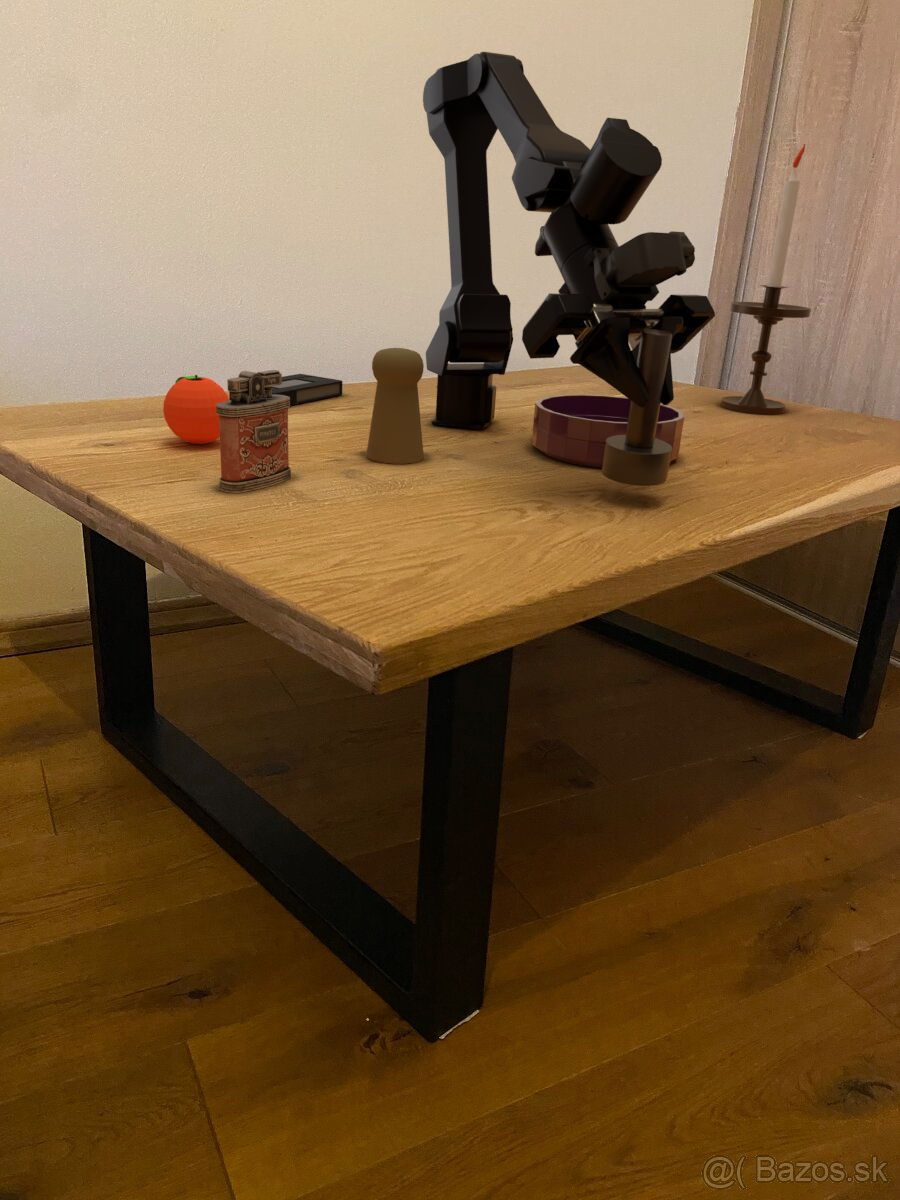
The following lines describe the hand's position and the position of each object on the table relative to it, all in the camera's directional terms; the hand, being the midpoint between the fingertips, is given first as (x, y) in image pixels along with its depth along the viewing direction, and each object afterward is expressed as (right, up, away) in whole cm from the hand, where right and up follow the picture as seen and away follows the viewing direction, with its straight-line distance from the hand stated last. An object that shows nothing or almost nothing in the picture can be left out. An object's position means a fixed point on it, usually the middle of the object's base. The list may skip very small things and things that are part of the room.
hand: (657, 403), depth 82 cm
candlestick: (+26, +11, +54) cm, 61 cm away
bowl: (-1, -1, +23) cm, 23 cm away
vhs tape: (-40, +10, +42) cm, 59 cm away
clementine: (-45, -1, +17) cm, 48 cm away
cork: (-24, -2, +16) cm, 29 cm away
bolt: (-1, -6, +4) cm, 7 cm away
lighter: (-36, -7, +4) cm, 37 cm away
